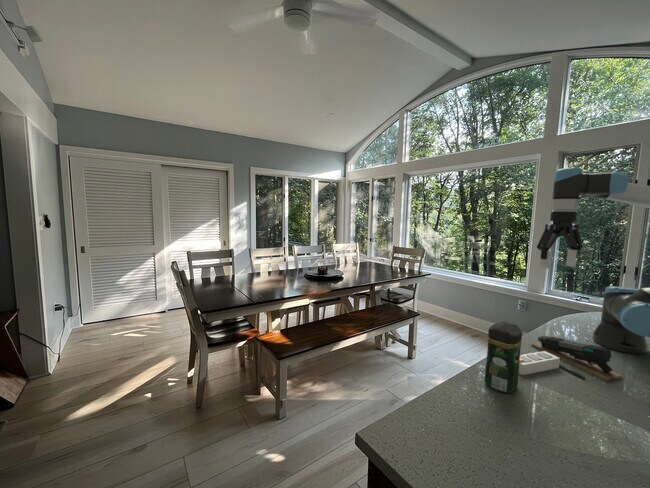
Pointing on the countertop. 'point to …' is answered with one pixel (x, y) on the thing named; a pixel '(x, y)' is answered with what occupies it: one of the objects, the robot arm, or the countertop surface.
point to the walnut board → (580, 364)
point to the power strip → (541, 363)
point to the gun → (579, 351)
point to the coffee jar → (503, 357)
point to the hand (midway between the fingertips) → (557, 267)
